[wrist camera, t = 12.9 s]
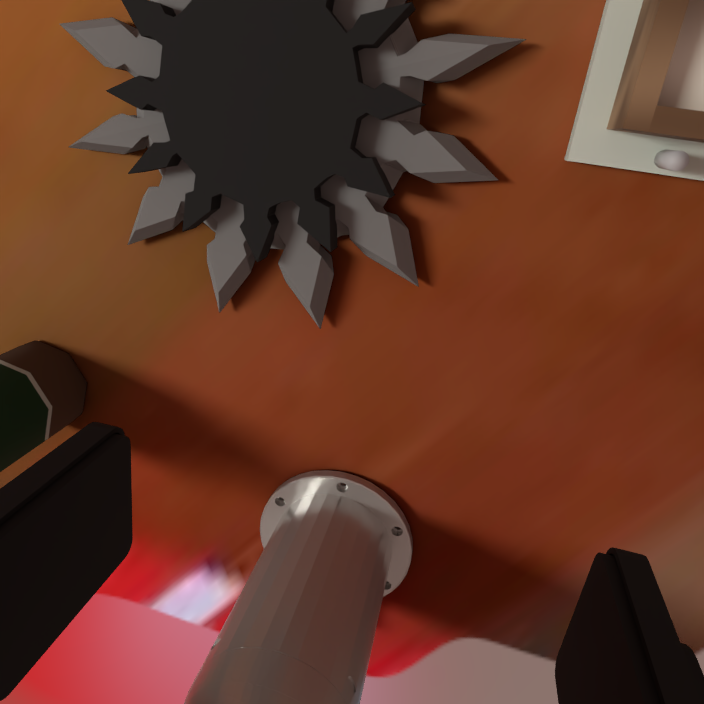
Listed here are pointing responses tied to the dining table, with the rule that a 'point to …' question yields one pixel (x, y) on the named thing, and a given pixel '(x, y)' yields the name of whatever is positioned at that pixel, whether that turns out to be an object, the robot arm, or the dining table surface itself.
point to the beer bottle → (36, 397)
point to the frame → (664, 73)
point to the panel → (597, 102)
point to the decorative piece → (281, 126)
